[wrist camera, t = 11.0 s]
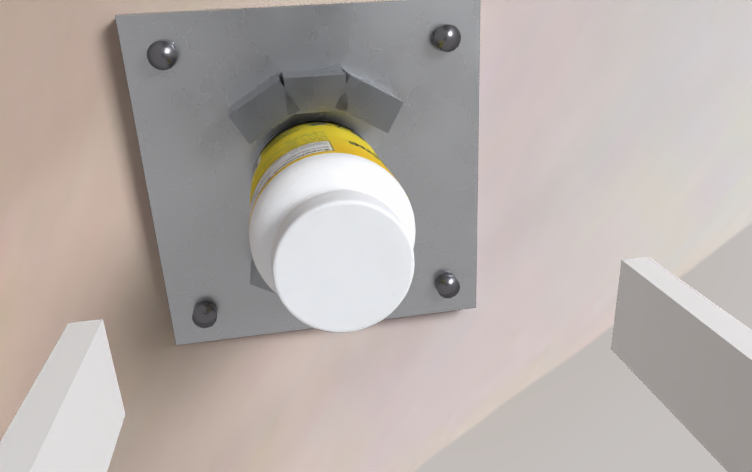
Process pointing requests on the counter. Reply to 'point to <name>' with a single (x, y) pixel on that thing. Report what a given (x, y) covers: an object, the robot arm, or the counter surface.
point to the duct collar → (291, 105)
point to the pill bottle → (330, 227)
